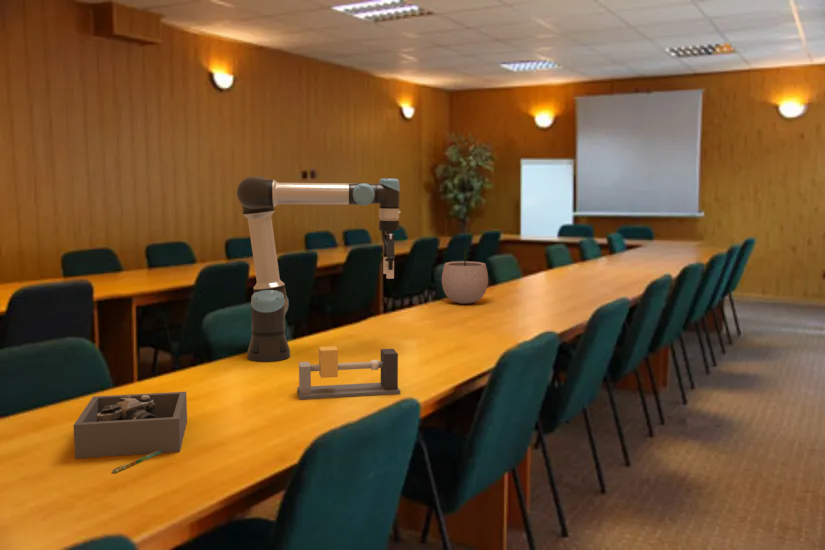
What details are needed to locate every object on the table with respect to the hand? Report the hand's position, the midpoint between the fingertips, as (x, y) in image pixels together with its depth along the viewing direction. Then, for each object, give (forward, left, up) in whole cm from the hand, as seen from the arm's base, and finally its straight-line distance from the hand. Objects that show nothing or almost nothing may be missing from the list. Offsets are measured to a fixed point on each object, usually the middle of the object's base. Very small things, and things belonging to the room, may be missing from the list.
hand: (388, 276), depth 284 cm
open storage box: (-80, -88, -27) cm, 122 cm away
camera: (-80, -87, -28) cm, 122 cm away
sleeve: (-29, -58, -22) cm, 68 cm away
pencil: (-76, -102, -28) cm, 131 cm away
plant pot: (+58, +92, -28) cm, 112 cm away
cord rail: (-23, -58, -27) cm, 68 cm away
